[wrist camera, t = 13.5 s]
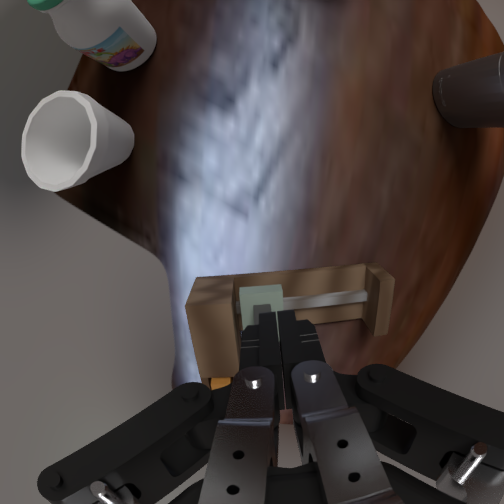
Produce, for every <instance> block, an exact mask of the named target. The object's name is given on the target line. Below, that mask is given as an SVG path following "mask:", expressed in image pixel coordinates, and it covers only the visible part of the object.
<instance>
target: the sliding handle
mask: <svg viewBox="0 0 504 504" xmlns="http://www.w3.org/2000/svg"><path fill="white" fill-rule="evenodd" d="M239 297H240V306H241V315H242V325H243V330H244V329H245V328H246V326H247V325H258V324H259V313H264V312H274V311H276V319H277V328H278V317H277V311H283V290H282V286H281V284H277V285H265V286H252V287H240V290H239ZM278 337H279V329H278Z"/></svg>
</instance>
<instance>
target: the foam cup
mask: <svg viewBox="0 0 504 504" xmlns="http://www.w3.org/2000/svg"><path fill="white" fill-rule="evenodd" d="M133 147H134V133H133V131H132V128H131V126H130V125H129V124H128V123H126V122H125V121H124V120H123V119H121V118H120V117H118V116H117V115H115V114H114V113H112V112H110V111H109V110H107V109H106V108H104V107H103V106H101V105H100V104H99V103H97V102H96V101H95V100H94V99H92V98H91V97H90V96H89V95H86V94H83V93H80V92H77V91H60V90H59V91H57V92H55V93H53V94H51V95H49V96H48V97H46V98H44V99H42V100H41V102H40V103H39V104H38V105H37V107H36V108H35V109H34V110H33V112H32V113H31V114H30V115H29V118H28V121H27V124H26V126H25V129H24V132H23V135H22V160H23V163H24V166H25V169H26V172H27V175H28V176H29V177H30V178H31V179H32V180H33V181H34V182H35V184H36V185H37V186H38V187H39V188H42V189H46V190H51V191H54V192H56V191H60V190H64V189H68V188H71V187H74V186H77V185H80V184H83V183H85V182H86V181H87V180H88V179H89V178H91V177H93V176H95V175H97V174H99V173H102V172H104V171H106V170H108V169H110V168H113V167H115V166H117V165H119V164H121V163H122V162H124V161H125V160H126V159H127V158H128V157H129V156H130V154H131V151H132V149H133Z"/></svg>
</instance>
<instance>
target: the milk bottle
mask: <svg viewBox="0 0 504 504" xmlns="http://www.w3.org/2000/svg"><path fill="white" fill-rule="evenodd" d="M27 1H28V3H29V5H30V6H32V7H33V8H35V9H37V10H40V11H41V12H43V13H49V14H50V16H51V18H52V20H53V23H54V27H55V29H56V32H57V33H58V35H59V36H60V37H61V39H62V40H63V41H64V42H65V43H67V44H68V45H69V46H71V47H73V48H74V49H76V50H78V51H79V52H81V53H83V54H85V55H87V56H88V57H90V58H92V59H94V60H96V61H97V62H99V63H101V64H103V65H105V66H106V67H108V68H110V69H112V70H115V71H128V70H132V69H134V68H136V67H138V66H140V65H141V64H143V63H144V62H145V61H146V60H147V59H148V58H149V57H150V55H151V54H152V52H153V50H154V48H155V45H156V33H155V31H154V29H153V27H152V26H151V25H150V23H149V22H148V21H147V19H146V18H145V17H144V16H143V15H142V13H141V12H140V11H139V10H138V8H137V7H136V6H135V5H134V4H133V2H132V1H131V0H27Z"/></svg>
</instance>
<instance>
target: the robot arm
mask: <svg viewBox="0 0 504 504" xmlns="http://www.w3.org/2000/svg"><path fill="white" fill-rule="evenodd" d="M433 96H434V100H435V103H436V106H437V108H438V110H439V112H440V113H441V115H442V116H443V118H444V119H445V120H446V121H447V122H448V123H450V124H451V125H453V126H455V127H458V128H490V127H503V128H504V52H501V53H498V54H494V55H490V56H487V57H483V58H480V59H476V60H473V61H469V62H466V63H463V64H460V65H456V66H453V67H450V68H448V69H445V70H442V71H440V72H439V73H438V74H437V75H436V76H435V79H434V81H433ZM277 317H278V328H277V319H276V311H274V312H264V313H259V324H258V325H247V326H246V328H245V329H244V330H243V332H242V337H241V350H240V363H239V372H237V373H236V374H235V376H234V378H233V382H232V383H230V384H228V385H227V386H224V387H221V388H218V389H214V390H210V389H209V388H208V387H207V386H206V385H204V384H202V383H198V382H189V383H185V384H182V385H180V386H178V387H177V388H175V389H174V390H172V391H171V392H169V393H168V394H166V395H165V396H164V397H162V398H161V399H159V400H158V401H156V402H155V403H153V404H152V405H150V406H148V407H147V408H146V409H144V410H142V411H141V412H139V413H138V414H136V415H135V416H133V417H132V418H130V419H129V420H127V421H125V422H124V423H122V424H121V425H119V426H117V427H116V428H114V429H113V430H111V431H109V432H108V433H106V434H105V435H103V436H101V437H100V438H98V439H96V440H95V441H93V442H91V443H90V444H88V445H86V446H84V447H83V448H81V449H79V450H78V451H76V452H74V453H72V454H71V455H69V456H67V457H65V458H63V459H62V460H60V461H58V462H56V463H55V464H53V465H51V466H49V467H47V468H46V469H44V470H43V471H42V472H41V474H40V475H39V477H38V481H37V486H38V490H39V492H40V493H41V495H42V496H43V497H44V498H46V499H47V500H48V501H49V502H50V503H52V504H155V503H156V502H158V501H159V500H161V499H162V498H163V497H165V496H166V495H167V494H169V493H170V492H172V491H173V490H174V489H175V488H177V487H178V486H179V485H181V484H182V483H183V482H185V481H186V480H187V479H188V478H190V477H191V476H192V475H193V474H195V473H196V472H197V471H198V470H200V469H201V468H202V467H203V466H204V465H205V464H207V463H208V464H207V469H206V473H205V477H204V479H201V480H200V481H198V482H196V483H194V484H192V485H191V486H189V487H188V488H187V489H186V490H184V491H183V492H182V493H181V494H180V495H178V496H177V497H176V498H175V499H173V500H172V501H171V502H170V503H168V504H499V503H500V501H501V499H502V496H503V494H504V412H501V411H498V410H495V409H492V408H490V407H487V406H485V405H482V404H479V403H477V402H474V401H471V400H469V399H466V398H464V397H461V396H459V395H456V394H454V393H451V392H449V391H446V390H443V389H441V388H438V387H436V386H433V385H431V384H429V383H426V382H424V381H421V380H419V379H417V378H415V377H412V376H410V375H407V374H405V373H403V372H400V371H398V370H396V369H394V368H391V367H389V366H386V365H383V364H372V365H368V366H365V367H364V368H362V369H361V370H360V371H359V372H358V375H345V374H340V373H337V372H335V371H333V370H332V368H331V367H330V366H329V365H328V364H327V363H326V361H325V358H324V355H323V352H322V348H321V345H320V342H319V339H318V335H317V332H316V329H315V326H314V325H313V324H312V323H311V322H310V321H309V320H308V319H305V320H296V316H295V312H294V309H292V310H283V311H277ZM278 329H279V337H278ZM279 341H280V346H279ZM280 352H281V355H280ZM281 362H282V364H281ZM282 371H283V378H282ZM283 380H284V389H285V399H286V409H292V411H293V425H294V430H295V434H296V439H297V443H298V448H299V452H300V456H301V461H302V466H298V467H295V468H281V467H278V444H279V422H280V410H284V409H285V406H284V392H283ZM407 422H408V423H407ZM409 423H410V424H409ZM376 451H378V452H380V453H382V454H384V455H385V456H387V457H389V458H391V459H393V460H395V461H397V462H399V463H400V464H403V465H404V466H406V467H408V468H410V469H412V470H414V471H416V472H418V473H420V474H422V475H424V476H426V477H428V478H431V479H433V480H435V481H436V487H437V489H436V488H434V487H432V486H430V485H428V484H426V483H424V482H422V481H421V480H418V479H417V478H415V477H413V476H412V475H410V474H408V473H406V472H404V471H403V470H401V469H399V468H397V467H395V466H394V465H391V464H389V463H386V462H382V461H380V459H379V457H378V455H377V452H376Z"/></svg>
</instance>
